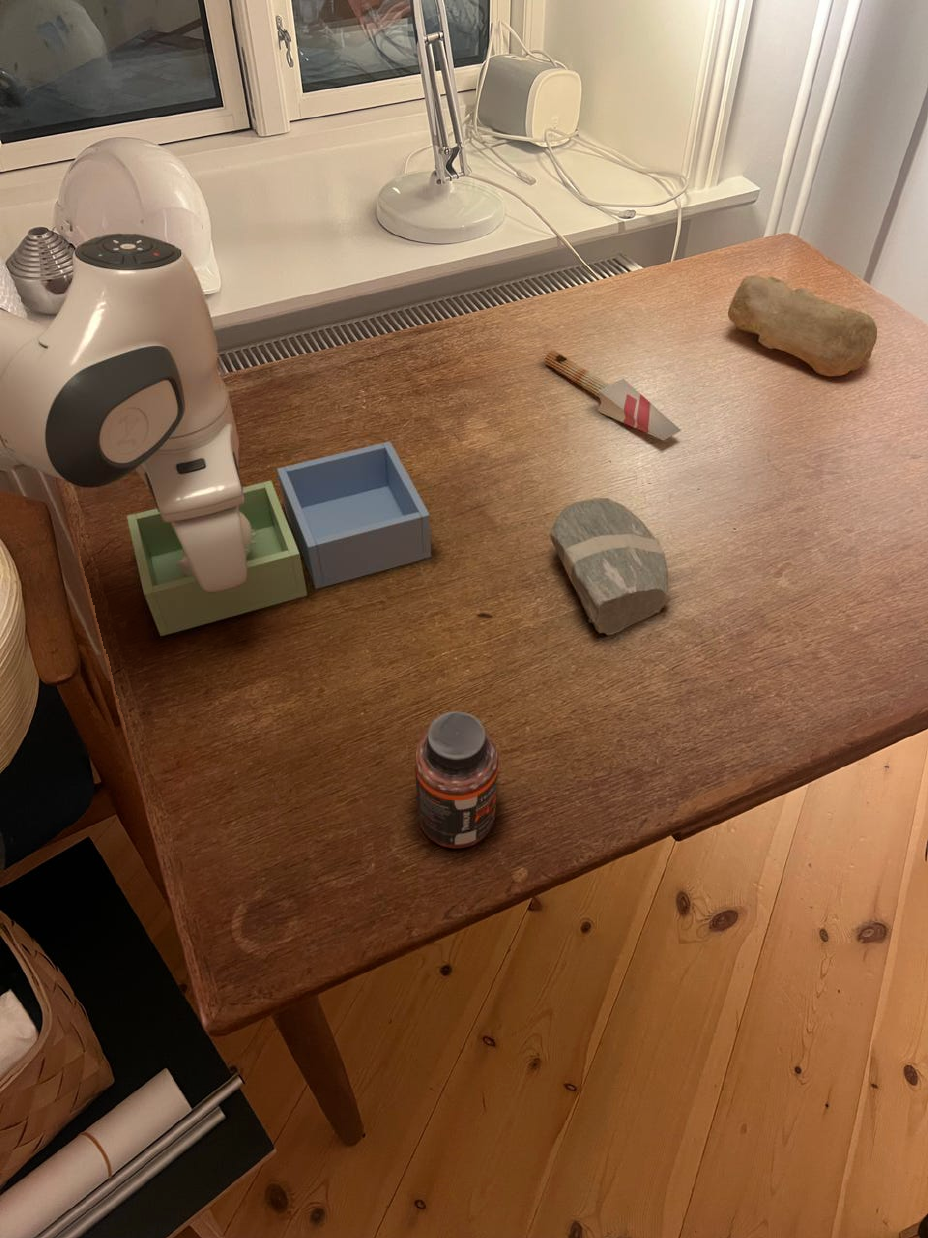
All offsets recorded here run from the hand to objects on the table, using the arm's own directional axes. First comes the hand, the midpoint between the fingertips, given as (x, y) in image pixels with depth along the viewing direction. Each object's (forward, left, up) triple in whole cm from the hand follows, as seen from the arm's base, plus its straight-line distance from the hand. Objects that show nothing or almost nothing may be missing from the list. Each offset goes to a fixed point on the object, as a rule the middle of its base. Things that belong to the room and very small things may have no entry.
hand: (215, 554), depth 85 cm
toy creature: (0, 0, -2) cm, 2 cm away
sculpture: (+73, +12, -3) cm, 74 cm away
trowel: (+47, +11, -3) cm, 48 cm away
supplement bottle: (+12, -32, -3) cm, 34 cm away
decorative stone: (+34, -14, -3) cm, 37 cm away
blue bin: (+14, +1, -3) cm, 14 cm away
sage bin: (0, 0, -3) cm, 3 cm away
